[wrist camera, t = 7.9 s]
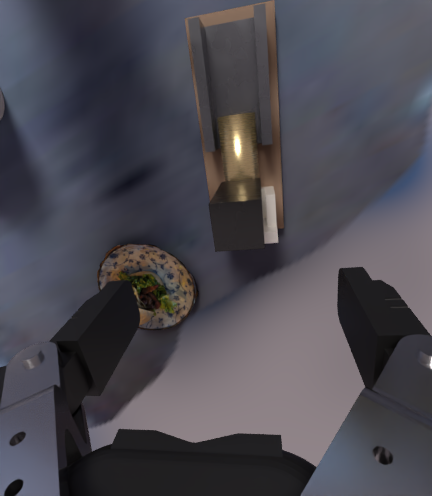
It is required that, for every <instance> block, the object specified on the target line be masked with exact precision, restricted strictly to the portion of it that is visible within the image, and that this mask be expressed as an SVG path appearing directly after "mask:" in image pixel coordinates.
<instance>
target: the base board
mask: <svg viewBox="0 0 432 496" xmlns="http://www.w3.org/2000/svg"><path fill="white" fill-rule="evenodd" d="M264 3H265V7H266V26H267V46H268V65H269V85H270V104H271V124H272V143H273V144H270V145H262V143H258V144H257V149H258V163H259V178H261V187H268V186H273V187H274V191H275V202H276V222H277V229H281V228H284V222H283V198H282V174H281V150H280V126H279V102H278V78H277V54H276V30H275V6H274V0H273V1H268V2H263V3H258V4H253V5H248V6H243V7H238V8H234V9H229V10H224V11H219V12H214V13H209V14H204V15H199V16H195V17H199V18H200V20H201V22H202V24H203V25H204V27H207V26H212V25H217V24H222V23H227V22H232V21H237V20H242V19H247V18H252V17H254V10H253V6H254V5H259V4H264ZM195 17H190V18H195ZM190 18H185V24H186V32H187V39H188V46H189V53H190V60H191V68H192V75H193V82H194V89H195V97H196V104H197V111H198V118H199V125H200V133H201V140H202V147H203V154H204V161H205V169H206V176H207V183H208V190H209V198H210V201H211V199H212V198H213V196H214V194H215V192H216V191H217V189H218V187H219V186H220V184H221V182H225V180H224V172H223V163H222V154H221V148H219V149H217V150H216V151H213V152H205V145H204V137H203V130H202V123H201V115H200V108H199V101H198V93H197V86H196V79H195V71H194V64H193V56H192V49H191V42H190V34H189V27H188V20H187V19H190Z"/></svg>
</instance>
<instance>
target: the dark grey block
mask: <svg viewBox="0 0 432 496" xmlns="http://www.w3.org/2000/svg"><path fill="white" fill-rule="evenodd" d="M217 120H218V128H219V137H220V146H221V154H222V163H223V172H224V180H225V182H221V184H220V186H219V187H218V189H217V191H216V192H215V194H214V196H213V198H212V199H211V201H210V203H209V209H210V217H211V224H212V231H213V238H214V245H215V252H217V251H233V250H248V249H264V248H265V241H264V221H263V205H262V191H261V178H259V163H258V149H257V135H256V121H255V112H251V113H243V114H236V115H229V116H223V117H217Z"/></svg>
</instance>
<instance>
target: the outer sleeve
mask: <svg viewBox="0 0 432 496" xmlns="http://www.w3.org/2000/svg"><path fill="white" fill-rule="evenodd" d="M253 10H254V17H252V18H247V19H242V20H237V21H232V22H227V23H222V24H217V25H212V26H207V27H204V25H203V24H202V22H201V20H200V18H199V17H195V18H190V19H187V20H188V27H189V34H190V42H191V49H192V56H193V64H194V71H195V79H196V86H197V93H198V101H199V108H200V115H201V123H202V130H203V137H204V145H205V152H213V151H216V150H217V149H219V148H221V146H220V137H219V128H218V120H217V117H223V116H229V115H236V114H243V113H251V112H255V121H256V135H257V144H258V143H262V145H270V144H273V143H272V124H271V104H270V85H269V65H268V46H267V26H266V7H265V3H264V4H259V5H254V6H253Z"/></svg>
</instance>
